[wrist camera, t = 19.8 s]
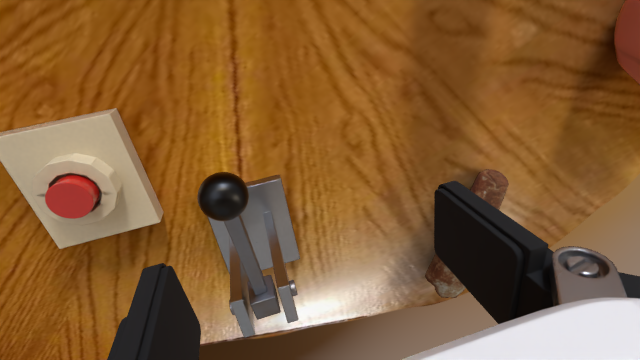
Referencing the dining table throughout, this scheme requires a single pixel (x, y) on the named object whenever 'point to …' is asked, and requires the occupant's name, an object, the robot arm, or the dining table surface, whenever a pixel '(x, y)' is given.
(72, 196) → the button
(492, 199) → the salami
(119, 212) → the button block
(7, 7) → the dining table surface
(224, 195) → the lever
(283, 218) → the bracket
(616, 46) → the cell model
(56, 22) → the dining table surface
